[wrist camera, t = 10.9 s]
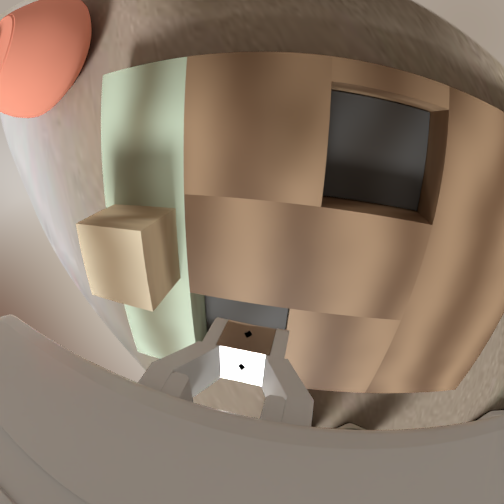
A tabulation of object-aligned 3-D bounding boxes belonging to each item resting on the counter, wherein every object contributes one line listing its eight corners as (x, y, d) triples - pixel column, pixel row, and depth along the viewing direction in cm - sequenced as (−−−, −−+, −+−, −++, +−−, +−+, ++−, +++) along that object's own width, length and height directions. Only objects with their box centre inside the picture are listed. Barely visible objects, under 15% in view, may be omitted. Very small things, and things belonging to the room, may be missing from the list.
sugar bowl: (83, 121, 18) (-15, 139, 9) (16, 110, 18) (-52, 125, 9) (125, -4, 12) (40, -36, 3) (43, 15, 13) (-23, 10, 4)
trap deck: (526, 136, 11) (549, 141, 8) (447, 369, 21) (455, 389, 18) (127, 78, 16) (102, 75, 13) (151, 333, 26) (137, 351, 23)
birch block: (175, 208, 16) (140, 231, 13) (180, 278, 18) (153, 311, 15) (114, 204, 17) (75, 223, 13) (123, 267, 19) (92, 294, 16)
